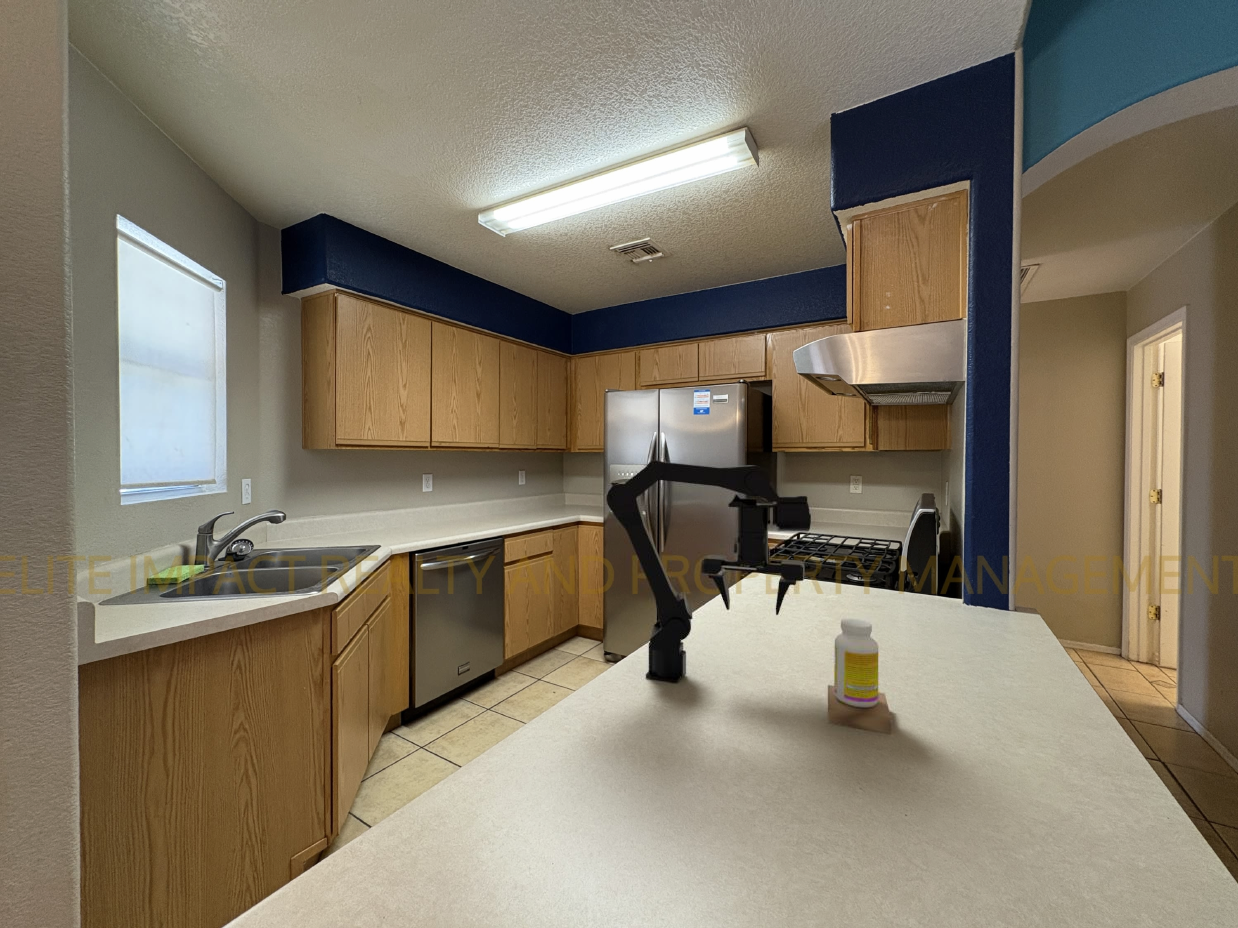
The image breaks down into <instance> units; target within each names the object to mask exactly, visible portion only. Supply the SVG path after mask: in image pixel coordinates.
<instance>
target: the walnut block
mask: <svg viewBox="0 0 1238 928" xmlns="http://www.w3.org/2000/svg"><path fill="white" fill-rule="evenodd" d="M827 723H828V724H834V725H839V726H844V727H849V728H856V729H861V730H862V729H863V730H867V731H874V732H879V733H884V734H889V735H890V734H892V717H891V713H890V709H889V705H888V701H887V697H886V693H885V692H879V691H878V703H877V704H876V705H875V706H872V707H865V708H862V707H854V706H851V705H848V704H845V703H843V702H841V701H840V700H839V699H837V697H836V696H835V690H834V685H831V684H827Z"/></svg>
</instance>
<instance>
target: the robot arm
mask: <svg viewBox="0 0 1238 928" xmlns="http://www.w3.org/2000/svg"><path fill="white" fill-rule="evenodd" d="M770 480H771V479H770V475H769V473H768V471H766V469H765V468H763V467H761V466H758V465H753V464H752V465H750V464H749V465H738V466H737V465H736V466H735V465H734V466H723V467H715V466H705V465H696V464H686V463H677V462H667V461H661V460H658V459H656V460H655V459H653V460H651V461H650V462H648V463H647V465H646V466H645V467H643V468H642V470H640V471H639V472H637V473H636V474H635V475H634V476H631V478H629V479H628V480H627V481H626V482H625V481H624V482H620V483H617V484H614V485H612V486H611V487H610V488H609V490H608V491H607V493H606V496H605V497H606V499H605V500H606V504H607V506H608V508H609V510H610V512H612V515H613V516H614V517H615V519H616V520H617V521H618V523H620V525H621V526H622V527H623V528H624V530H625V531H626V533H627V535H628V538H629V541H630V543H631V545H632V547H633V549H634V552H635V555H636V557H637V558H638V561H639V563H640V566H641V568H642V570H643V573H644V576H645V578H646V580H647V582H648V585H649V587H650V590H651V592H652V593H653V596H654V600H655V607H656V611H657V618H658V620H657V621H656V622H655V623H654V624H653V625H652V628H651V634H650V637H649V642H648V671H647V672H646V674H645V678H646V679H653V680H659V681H664V682H670V683H679V681H680V680H681V678H683V676H684V675H685V673H686V671H687V651H686V650H685V649H684V642H683V640H685V639H687V638H688V636H689V635H690V633H691V631H692V620H693V608H692V606H691V605H689V603H688V600H687V596H686V593H685V591H681V592H680V593H678V592H677V590H675V589H676V588H674V587H673V585H672V582H671V581H670V579H669V576H668V574H667V571H666V570H665V567H664V564H663V562H662V559H661V557H660V555H659V552H658V550H657V548H656V546H655V544H654V541H653V539H652V537H651V534H650V532H649V529H648V527H647V525H646V521H645V517H644V511H643V507H642V506H643V505H642V502H641V498H640V496H641V495H643V494H644V493H645V492H646V491H647V490H648V489H650V488H651V487H652V486H653V485H654V484H656V483H657V482H658V481H665V482H672V483H673V482H675V483H684V484H694V485H702V486H703V485H704V486H711V487H712V486H713V487H719V488H722V489H726V490H729V491H733V492H737V493H739V494H743V495H747V496H750V497H760V498H761V499H763V500H765V501H766V502H769V503H758V502H757V498H750V497H749V498H743V497H741V498H740V497H739V495H738V494H734V495H733V497H732V498H731V499H730V500H729V501H727V503H726V505H727V506H728V507H729V508H736V509H737V510H736V511H737V512H736V513H737V514H736V522H737V523H736V526H737V528H736V529H737V530H736V533H737V534H736V538H734V545H733V553H734V555H736V560H730V559H729V560H728V559H727V556H726V555H724V554H723V555H722V554H721V555H720V554H708V555H707V556H706V557H704V558H703V559H702V561H701V574H707V575H708V577H707V578H708V579H712V580H713V582H714V584H715V585H716V587H717V589H718V592H719V594H720V596H721V598H722V601H723V604H724V606H725V609H726V610H727V611H729V610H730V609H731V608H730V607H731V599H730V589H729V580H728V579H729V571H735V572H737V571H739V572H752V573H765V574H777V575H780V578H779V580H778V585H777V586H778V587H777V595H776V603H775V615H776V616H779V613H780V610H781V607H782V604H783V601H784V599H785V596H786V593H787V591H788V590H789V588H790V586H796V585H797V582H802V581H804V579H805V563H804V562H803V561H802V560H799V559H797V560H795V559H782V561H781V562H780V563H771V562H770V560H771V559H770V558H771V554H770V551H771V550H770V545H769V520H770V526H775V529H776V530H777V531H776V532H809V531H810V529H811V525H812V524H811V523H812V521H811V519H812V516H811V513H810V512H811V511H810V507H809V503H808V496H806V495H793V496H789V495H788V496H786V495H783V496H779V495H778V492H776V490H775V489H774V488H773V487H772V485H771V484H770V483H771V481H770Z"/></svg>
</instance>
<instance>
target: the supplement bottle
mask: <svg viewBox="0 0 1238 928" xmlns="http://www.w3.org/2000/svg"><path fill="white" fill-rule="evenodd" d="M840 628H841V633H839V634H838V635H837V636H836V637H835V639H834V667H833V668H834V677H833V679H834V684H833V686H834V690H835V696H836V697H837V699H839V700H840V701H841V702H843V703H845V704H848V705H851V706H854V707H862V708H865V707H872V706H875V705H876V704H877V703H878V692H879V644H878V642H877V641H876V640H875V639H874V638H872V637H871V634H872V632H873V625H872V623H871V622H869V621H867V620H864V619H860V618H854V617H852V618H849V617H848V618H843V619H841V621H840Z"/></svg>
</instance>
